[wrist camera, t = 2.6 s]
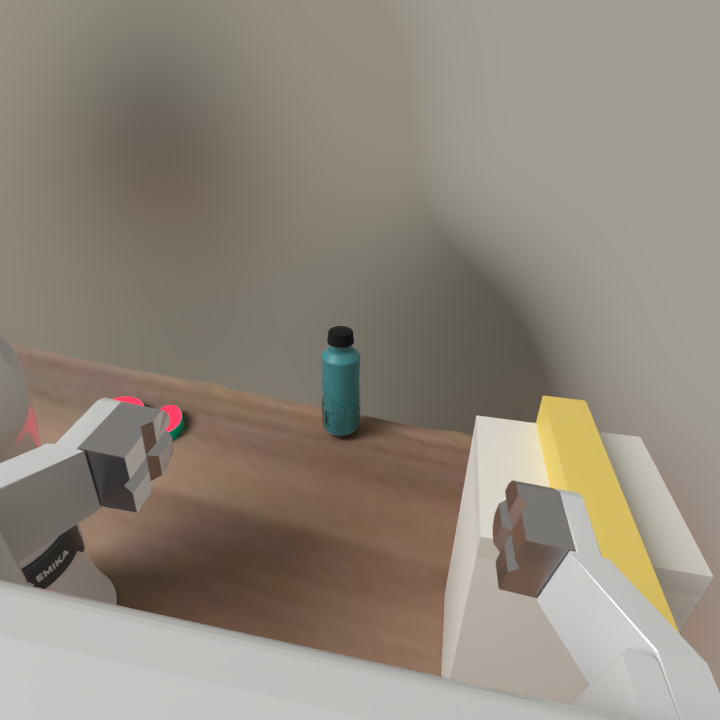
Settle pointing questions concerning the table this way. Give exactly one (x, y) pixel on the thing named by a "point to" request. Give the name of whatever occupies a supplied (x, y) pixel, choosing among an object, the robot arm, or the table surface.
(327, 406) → the beverage bottle
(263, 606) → the table surface
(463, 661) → the off-white stand
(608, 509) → the mustard bar
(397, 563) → the table surface
